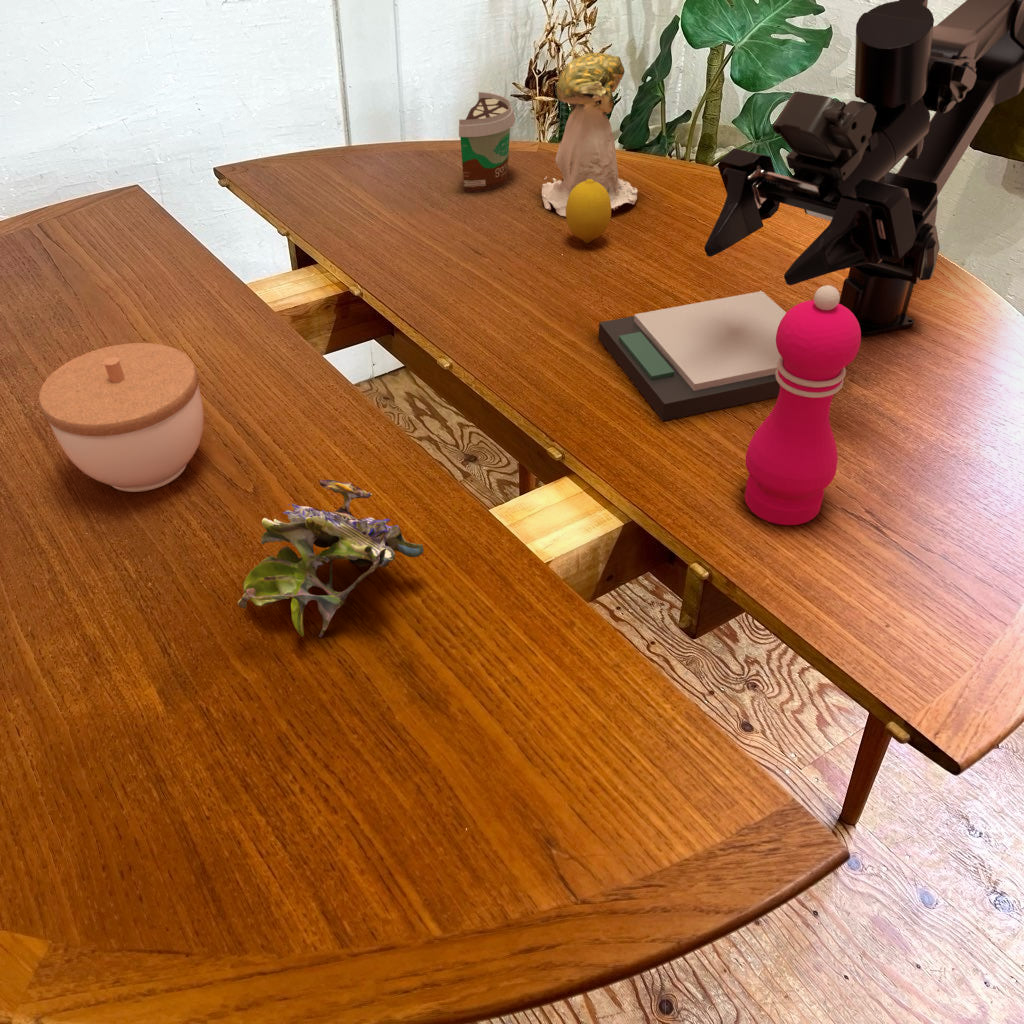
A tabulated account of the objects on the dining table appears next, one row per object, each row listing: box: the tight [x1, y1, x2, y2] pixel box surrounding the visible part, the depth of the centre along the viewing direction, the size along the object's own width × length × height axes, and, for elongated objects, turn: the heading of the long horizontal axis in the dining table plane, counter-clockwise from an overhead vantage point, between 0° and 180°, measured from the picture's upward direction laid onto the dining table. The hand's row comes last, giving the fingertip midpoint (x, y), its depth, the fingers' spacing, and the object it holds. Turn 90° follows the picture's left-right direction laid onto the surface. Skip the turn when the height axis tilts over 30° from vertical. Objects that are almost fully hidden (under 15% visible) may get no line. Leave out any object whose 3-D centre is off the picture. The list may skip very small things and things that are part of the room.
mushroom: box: [541, 52, 639, 218], centre depth 123 cm, size 12×13×18 cm
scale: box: [598, 290, 787, 422], centre depth 97 cm, size 19×16×3 cm
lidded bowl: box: [38, 342, 205, 493], centre depth 82 cm, size 13×13×11 cm
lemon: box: [565, 179, 612, 244], centre depth 117 cm, size 6×6×8 cm
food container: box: [458, 91, 516, 193], centre depth 132 cm, size 12×6×10 cm, turn 168°
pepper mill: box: [744, 284, 862, 526], centre depth 75 cm, size 7×7×20 cm
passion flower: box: [237, 479, 425, 638], centre depth 71 cm, size 11×11×12 cm
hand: (745, 266), depth 81 cm, fingers open, 9 cm apart
